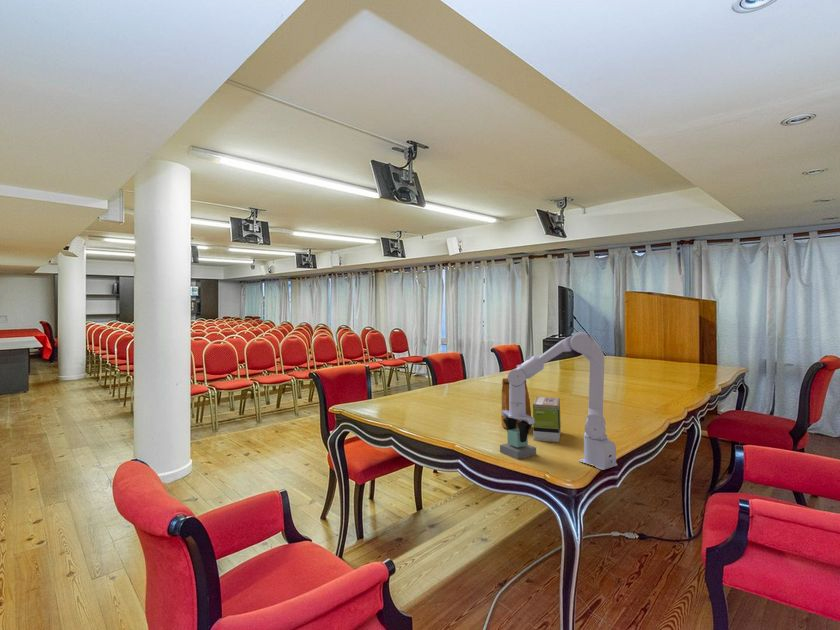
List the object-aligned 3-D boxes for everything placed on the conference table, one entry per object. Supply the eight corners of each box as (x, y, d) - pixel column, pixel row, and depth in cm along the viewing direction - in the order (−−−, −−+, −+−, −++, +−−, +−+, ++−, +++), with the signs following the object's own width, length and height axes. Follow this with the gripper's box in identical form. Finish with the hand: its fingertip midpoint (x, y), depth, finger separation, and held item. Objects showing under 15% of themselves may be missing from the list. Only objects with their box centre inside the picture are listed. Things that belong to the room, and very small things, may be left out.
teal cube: (527, 445, 147) (527, 431, 147) (517, 447, 144) (517, 433, 144) (517, 441, 151) (517, 427, 151) (507, 443, 149) (507, 430, 149)
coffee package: (533, 430, 176) (532, 379, 176) (504, 430, 176) (503, 379, 176) (527, 424, 186) (527, 376, 186) (500, 424, 186) (499, 376, 186)
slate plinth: (536, 454, 146) (536, 447, 146) (517, 459, 142) (517, 451, 142) (518, 447, 154) (518, 440, 154) (500, 451, 149) (499, 444, 149)
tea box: (536, 430, 177) (536, 395, 177) (561, 432, 173) (560, 397, 173) (532, 440, 163) (532, 403, 163) (559, 442, 159) (559, 404, 159)
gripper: (495, 399, 152) (495, 436, 152) (523, 407, 139) (524, 447, 139) (509, 397, 156) (510, 433, 156) (538, 404, 143) (539, 443, 143)
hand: (517, 439), depth 148 cm, fingers closed on teal cube, 5 cm apart
